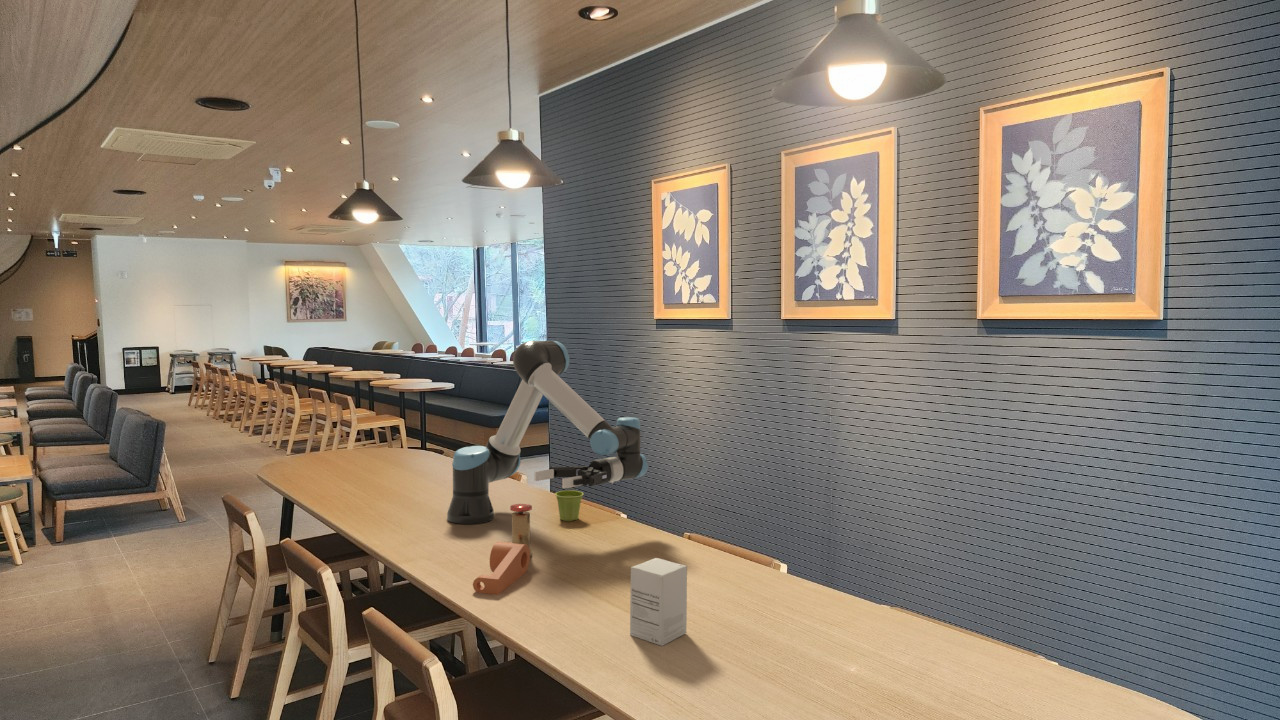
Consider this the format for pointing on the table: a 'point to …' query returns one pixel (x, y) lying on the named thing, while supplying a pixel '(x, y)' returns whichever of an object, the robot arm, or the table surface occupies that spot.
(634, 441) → the robot arm
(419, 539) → the table surface
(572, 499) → the plant pot
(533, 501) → the table surface
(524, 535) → the valve
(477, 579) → the orange holed part
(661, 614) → the supplement box
